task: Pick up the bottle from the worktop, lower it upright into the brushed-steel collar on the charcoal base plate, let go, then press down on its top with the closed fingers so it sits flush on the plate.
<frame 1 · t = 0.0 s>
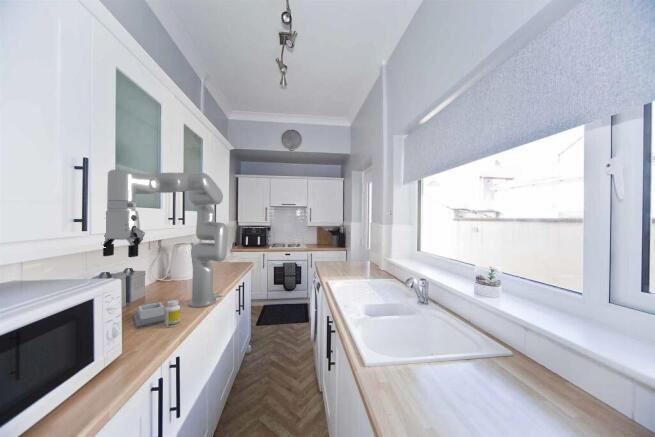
hand: (120, 256, 85), 31 cm above the table, tool pointing down, fingers open, 9 cm apart
supplement bottle: (172, 325, 104), on the table
collar stand: (151, 317, 110), on the table
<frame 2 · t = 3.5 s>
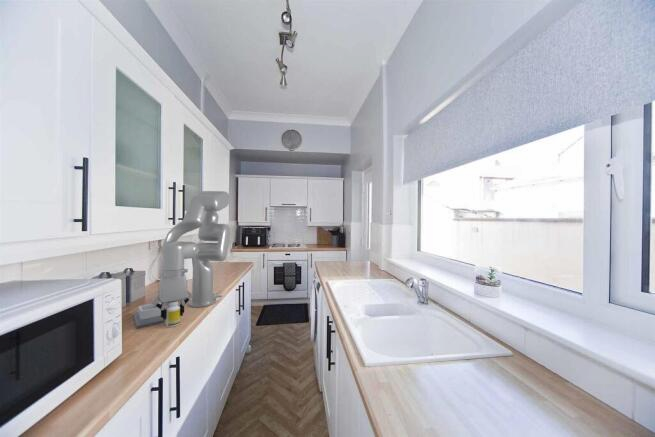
hand: (172, 316, 104), 4 cm above the table, tool pointing down, fingers closed on supplement bottle, 5 cm apart
supplement bottle: (172, 325, 104), on the table, touching gripper
when the fingers open (5 cm above the table, at t = 9.3 s): supplement bottle stays where it is, resting on collar stand.
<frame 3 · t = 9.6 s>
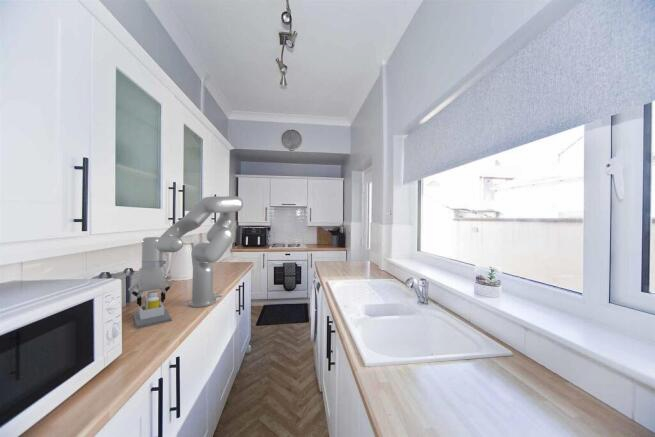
hand: (151, 303, 112), 6 cm above the table, tool pointing down, fingers open, 7 cm apart
supplement bottle: (152, 314, 112), point 1 cm above the table, touching collar stand
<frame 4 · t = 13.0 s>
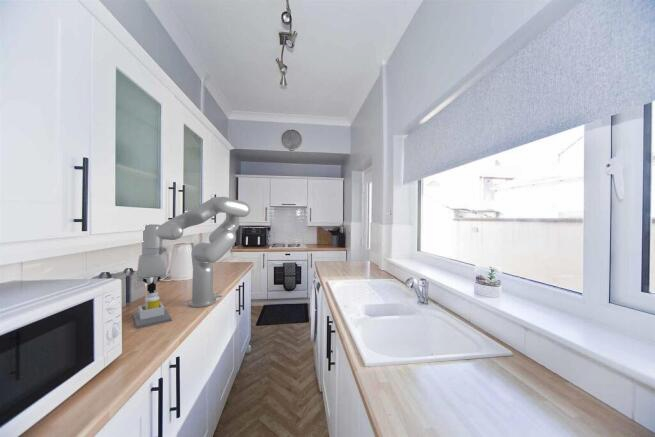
hand: (151, 292, 112), 11 cm above the table, tool pointing down, fingers closed
supplement bottle: (152, 314, 112), point 1 cm above the table, touching collar stand, gripper
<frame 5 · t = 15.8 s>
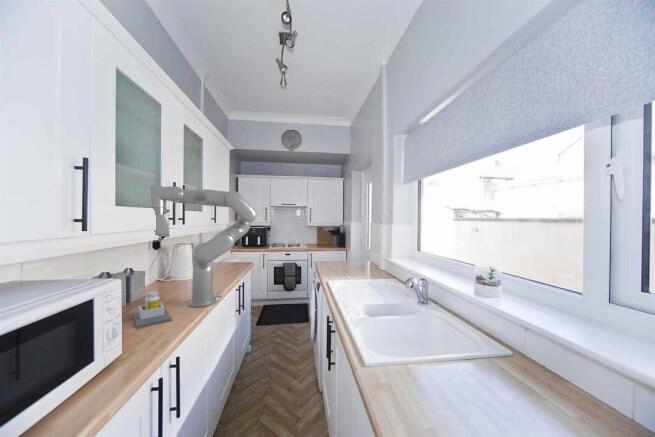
hand: (156, 249, 119), 29 cm above the table, tool pointing down, fingers closed
supplement bottle: (152, 314, 112), point 1 cm above the table, touching collar stand
at the end: supplement bottle 0.3 cm from the target spot on the collar stand, point 0.8 cm above the collar stand's base; supplement bottle tilted 0°; the gripper is holding nothing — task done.
